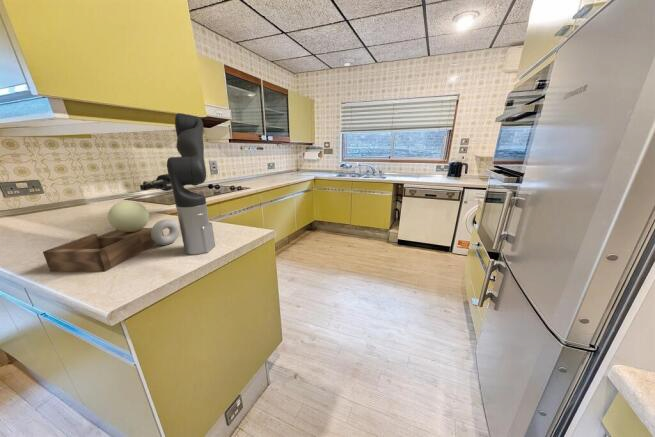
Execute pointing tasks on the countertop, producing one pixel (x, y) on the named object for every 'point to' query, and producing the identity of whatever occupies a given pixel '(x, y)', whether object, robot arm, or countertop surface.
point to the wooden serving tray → (98, 251)
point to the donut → (159, 227)
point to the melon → (128, 216)
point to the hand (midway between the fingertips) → (142, 187)
